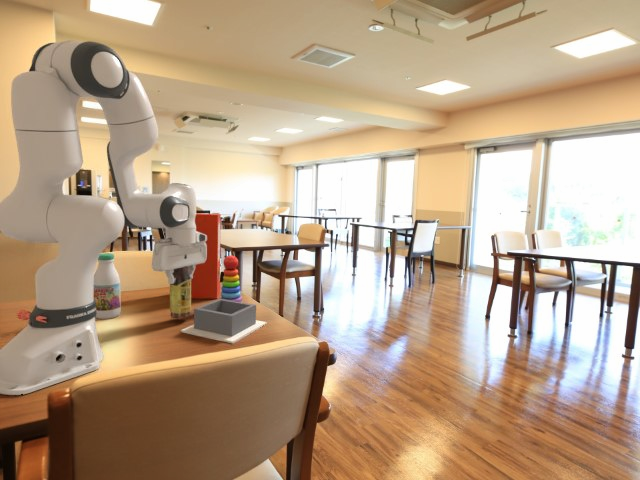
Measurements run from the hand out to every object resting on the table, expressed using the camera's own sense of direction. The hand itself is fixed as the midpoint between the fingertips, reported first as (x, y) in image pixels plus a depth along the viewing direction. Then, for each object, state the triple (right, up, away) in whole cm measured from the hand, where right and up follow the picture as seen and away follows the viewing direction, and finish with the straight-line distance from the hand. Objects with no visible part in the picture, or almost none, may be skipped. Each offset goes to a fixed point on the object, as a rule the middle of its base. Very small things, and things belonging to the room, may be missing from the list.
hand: (180, 281), depth 120 cm
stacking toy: (+12, -11, +17) cm, 24 cm away
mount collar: (+15, -14, -3) cm, 20 cm away
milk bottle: (-25, -12, +3) cm, 27 cm away
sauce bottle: (0, -11, +1) cm, 11 cm away
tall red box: (-5, -9, +30) cm, 31 cm away
